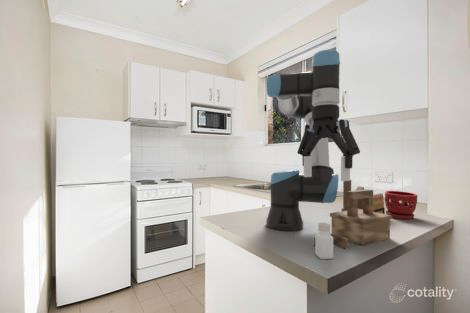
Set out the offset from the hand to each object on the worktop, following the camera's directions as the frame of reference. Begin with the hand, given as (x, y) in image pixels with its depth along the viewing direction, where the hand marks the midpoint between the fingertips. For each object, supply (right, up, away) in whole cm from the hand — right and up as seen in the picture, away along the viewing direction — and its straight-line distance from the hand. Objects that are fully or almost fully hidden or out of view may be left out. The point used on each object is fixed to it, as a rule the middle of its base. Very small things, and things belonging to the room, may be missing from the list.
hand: (324, 178), depth 71 cm
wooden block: (+32, -23, +50) cm, 64 cm away
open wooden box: (+19, -23, +18) cm, 35 cm away
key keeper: (+5, -23, +7) cm, 24 cm away
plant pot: (+54, -23, +47) cm, 76 cm away
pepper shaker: (0, -23, 0) cm, 23 cm away
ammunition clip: (+41, -23, +43) cm, 64 cm away
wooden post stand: (+19, -16, +18) cm, 31 cm away
